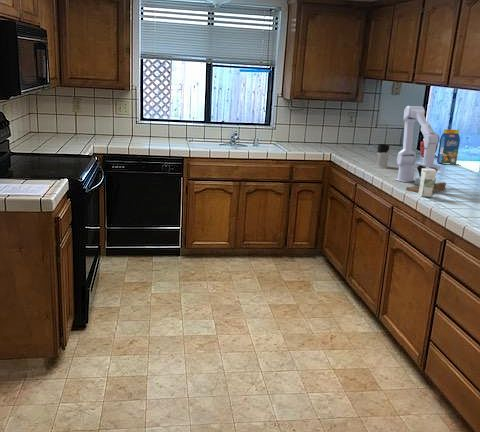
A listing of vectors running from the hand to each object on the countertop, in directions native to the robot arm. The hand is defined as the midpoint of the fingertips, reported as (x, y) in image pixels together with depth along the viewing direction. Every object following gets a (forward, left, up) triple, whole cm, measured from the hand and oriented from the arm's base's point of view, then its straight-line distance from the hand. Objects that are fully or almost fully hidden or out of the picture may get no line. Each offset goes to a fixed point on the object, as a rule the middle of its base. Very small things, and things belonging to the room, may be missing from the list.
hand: (425, 180), depth 286 cm
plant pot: (-112, -73, -5) cm, 134 cm away
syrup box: (+14, +10, -5) cm, 18 cm away
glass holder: (-34, -60, -5) cm, 69 cm away
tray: (0, 0, -3) cm, 3 cm away
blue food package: (-96, -46, -5) cm, 107 cm away
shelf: (0, +1, -5) cm, 5 cm away
